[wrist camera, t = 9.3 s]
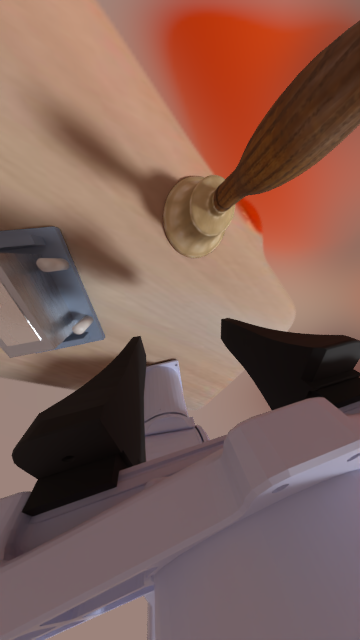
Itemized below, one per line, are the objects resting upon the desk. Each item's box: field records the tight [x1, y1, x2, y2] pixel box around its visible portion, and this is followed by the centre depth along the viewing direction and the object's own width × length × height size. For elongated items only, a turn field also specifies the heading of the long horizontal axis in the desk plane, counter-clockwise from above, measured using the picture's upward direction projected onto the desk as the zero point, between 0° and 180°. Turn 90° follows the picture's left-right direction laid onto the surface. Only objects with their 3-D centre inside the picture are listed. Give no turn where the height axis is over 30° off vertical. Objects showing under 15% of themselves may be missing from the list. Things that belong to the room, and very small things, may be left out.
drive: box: [0, 253, 76, 358], centre depth 14 cm, size 9×4×5 cm, turn 6°
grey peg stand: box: [0, 227, 105, 353], centre depth 15 cm, size 14×9×4 cm, turn 6°
